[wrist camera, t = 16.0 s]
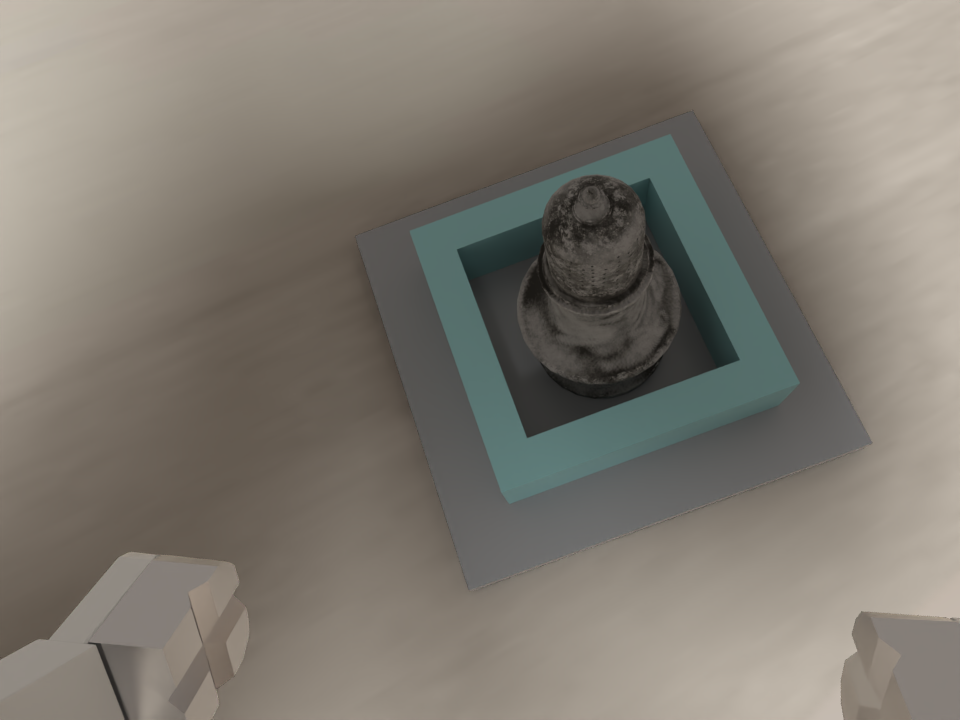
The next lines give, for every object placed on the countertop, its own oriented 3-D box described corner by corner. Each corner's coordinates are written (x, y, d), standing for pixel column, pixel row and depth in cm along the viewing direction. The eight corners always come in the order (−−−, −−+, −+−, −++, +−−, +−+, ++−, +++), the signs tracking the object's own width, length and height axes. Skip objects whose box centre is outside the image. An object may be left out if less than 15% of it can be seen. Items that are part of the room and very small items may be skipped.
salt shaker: (688, 391, 29) (736, 271, 18) (539, 418, 30) (494, 318, 18) (657, 255, 31) (682, 66, 20) (516, 283, 32) (462, 116, 20)
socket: (863, 448, 29) (905, 424, 25) (472, 591, 29) (456, 588, 25) (689, 124, 34) (703, 64, 30) (361, 246, 34) (334, 201, 31)
